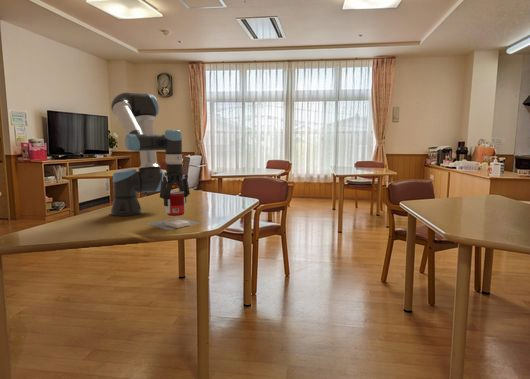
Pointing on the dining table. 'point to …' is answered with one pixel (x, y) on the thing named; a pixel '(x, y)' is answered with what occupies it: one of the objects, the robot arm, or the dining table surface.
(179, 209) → the canned food
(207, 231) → the dining table surface
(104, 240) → the dining table surface
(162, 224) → the slate board
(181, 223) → the tile
